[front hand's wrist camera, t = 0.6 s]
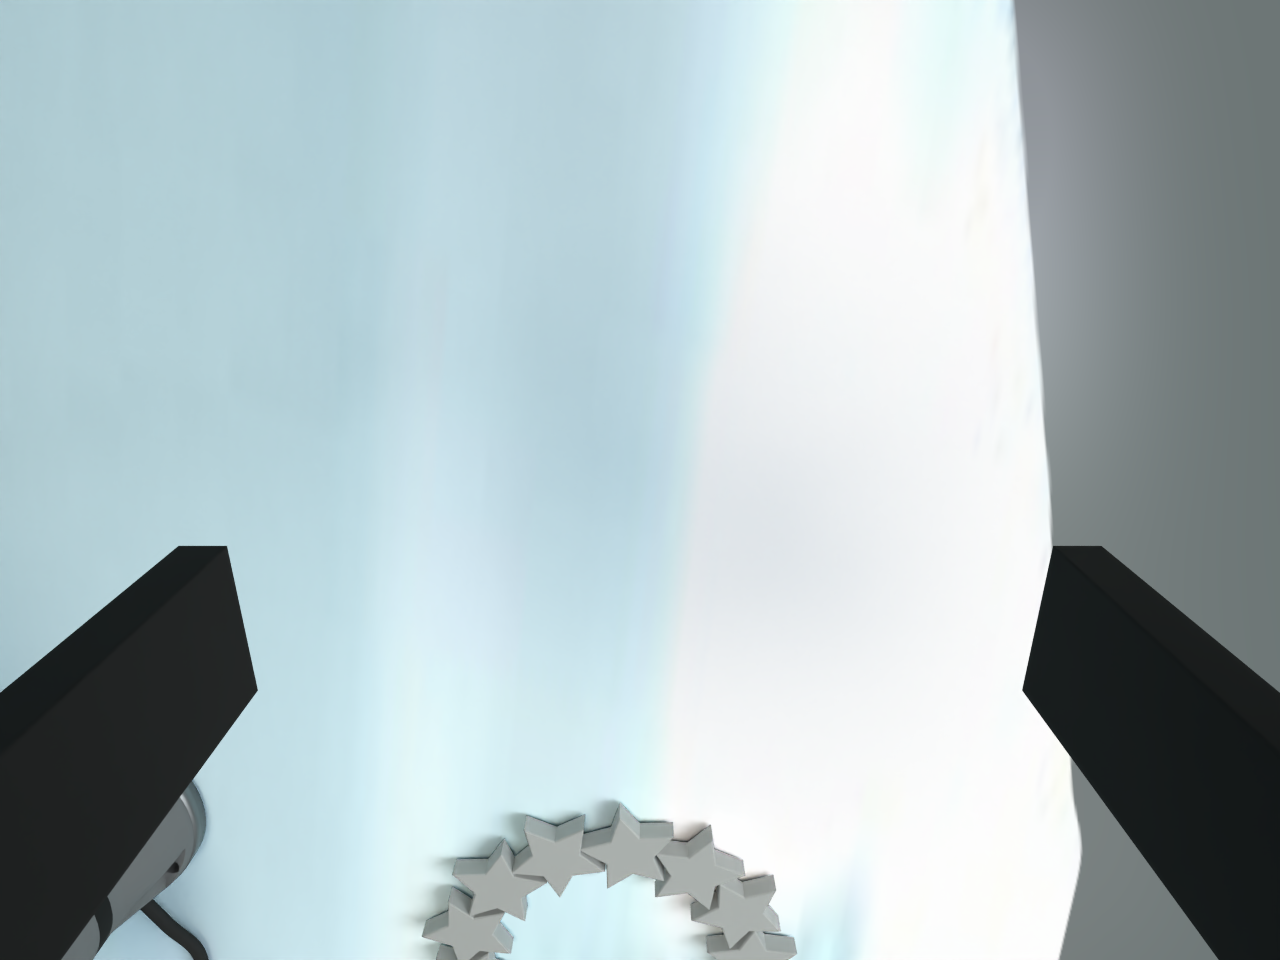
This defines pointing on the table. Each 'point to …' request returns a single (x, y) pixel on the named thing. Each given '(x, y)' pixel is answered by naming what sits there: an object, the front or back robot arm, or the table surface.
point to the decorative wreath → (626, 851)
